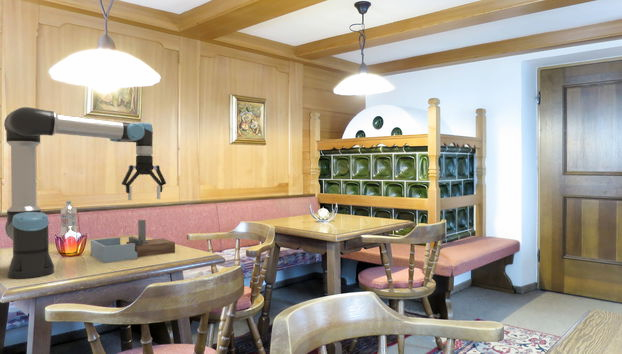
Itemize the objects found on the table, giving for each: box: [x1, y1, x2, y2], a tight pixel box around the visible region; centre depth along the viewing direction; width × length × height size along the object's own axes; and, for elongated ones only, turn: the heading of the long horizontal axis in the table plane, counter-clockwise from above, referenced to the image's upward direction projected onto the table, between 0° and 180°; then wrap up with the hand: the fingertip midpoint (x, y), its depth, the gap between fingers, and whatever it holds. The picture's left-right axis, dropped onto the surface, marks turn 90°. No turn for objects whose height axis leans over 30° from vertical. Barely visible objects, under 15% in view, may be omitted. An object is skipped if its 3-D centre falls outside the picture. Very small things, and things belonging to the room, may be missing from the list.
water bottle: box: [60, 200, 78, 236], centre depth 215 cm, size 7×7×25 cm
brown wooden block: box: [125, 238, 176, 258], centre depth 216 cm, size 16×18×5 cm
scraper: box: [128, 219, 148, 246], centre depth 212 cm, size 15×6×11 cm, turn 38°
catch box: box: [90, 237, 138, 264], centre depth 205 cm, size 24×14×7 cm, turn 38°
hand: (144, 199), depth 214 cm, fingers open, 13 cm apart
